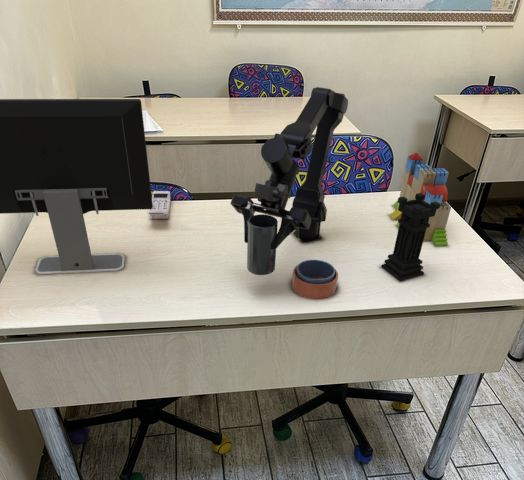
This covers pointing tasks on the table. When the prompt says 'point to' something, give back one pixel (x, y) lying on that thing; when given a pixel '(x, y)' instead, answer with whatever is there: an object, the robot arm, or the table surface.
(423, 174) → the block set
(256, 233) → the tumbler
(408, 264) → the chess piece
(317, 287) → the stack bottom
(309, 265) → the stack middle
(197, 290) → the table surface
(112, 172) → the computer monitor
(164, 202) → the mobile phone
